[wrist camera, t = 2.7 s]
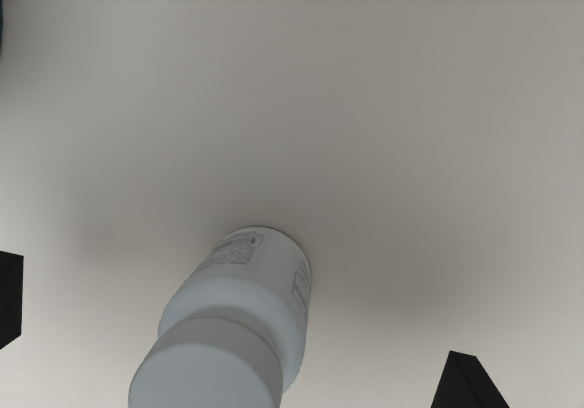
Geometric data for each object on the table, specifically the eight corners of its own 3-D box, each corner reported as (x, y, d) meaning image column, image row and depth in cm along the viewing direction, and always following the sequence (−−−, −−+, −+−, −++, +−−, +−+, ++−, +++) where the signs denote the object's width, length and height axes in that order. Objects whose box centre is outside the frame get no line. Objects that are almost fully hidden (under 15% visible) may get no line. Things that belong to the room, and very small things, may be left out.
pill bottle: (191, 286, 16) (76, 430, 9) (241, 204, 15) (158, 288, 8) (277, 338, 16) (235, 523, 9) (331, 260, 15) (336, 396, 8)
